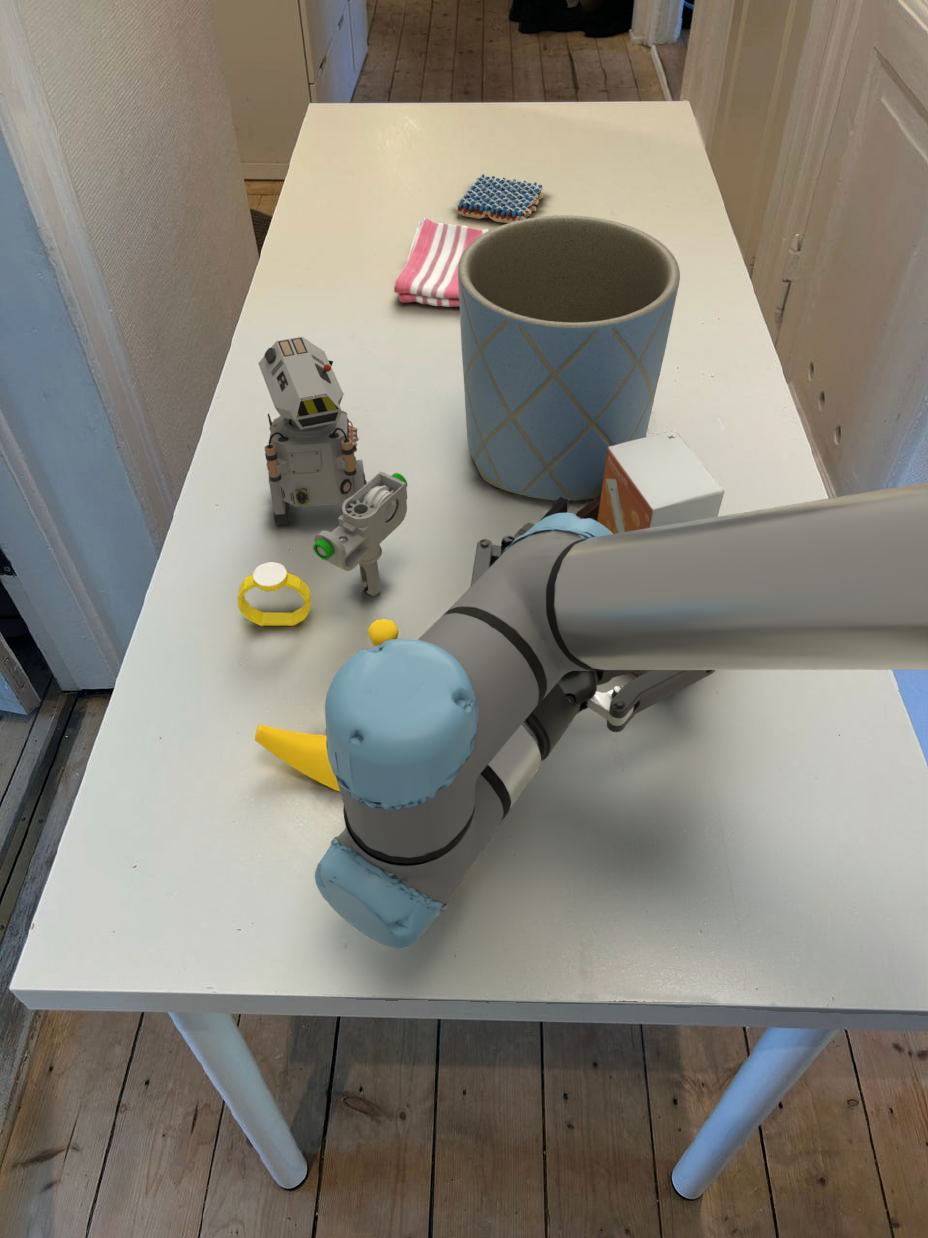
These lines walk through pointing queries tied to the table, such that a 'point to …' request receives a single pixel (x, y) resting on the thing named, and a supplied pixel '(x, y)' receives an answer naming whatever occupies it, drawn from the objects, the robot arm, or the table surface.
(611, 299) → the planter
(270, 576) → the watch
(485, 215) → the woven mat
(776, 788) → the table surface
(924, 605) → the robot arm
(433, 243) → the dish towel
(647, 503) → the small box
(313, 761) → the banana peel
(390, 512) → the mechanical component
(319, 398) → the figurine
